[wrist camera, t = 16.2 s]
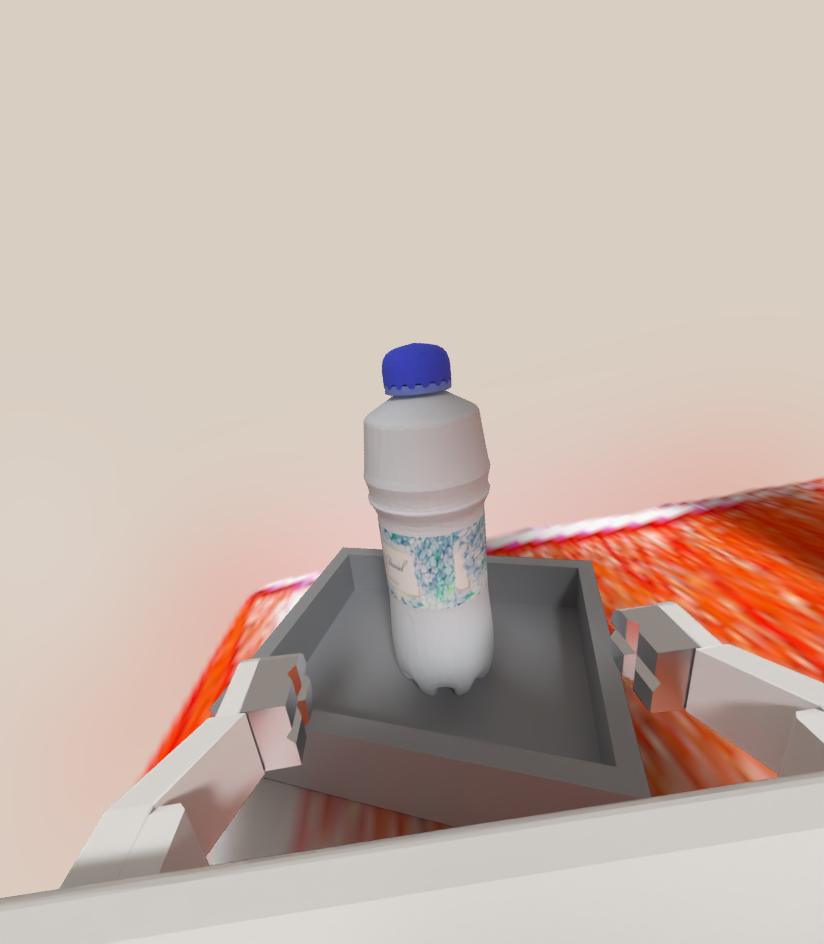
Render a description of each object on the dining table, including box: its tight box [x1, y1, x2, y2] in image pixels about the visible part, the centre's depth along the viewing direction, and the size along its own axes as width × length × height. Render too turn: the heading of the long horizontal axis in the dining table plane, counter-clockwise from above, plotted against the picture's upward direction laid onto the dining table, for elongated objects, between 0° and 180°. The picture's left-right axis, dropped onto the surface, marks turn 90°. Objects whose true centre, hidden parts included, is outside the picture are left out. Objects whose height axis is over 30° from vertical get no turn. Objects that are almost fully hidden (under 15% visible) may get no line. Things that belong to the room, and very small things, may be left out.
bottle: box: [364, 343, 494, 696], centre depth 22 cm, size 7×7×20 cm
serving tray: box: [210, 548, 651, 827], centre depth 25 cm, size 20×16×4 cm
